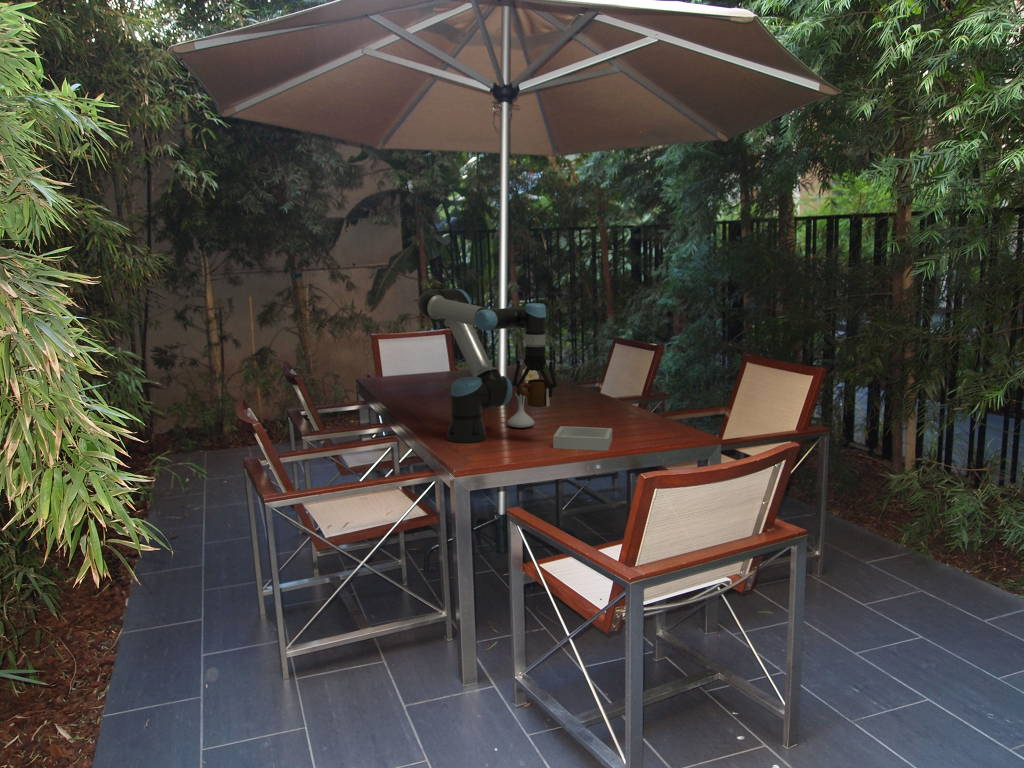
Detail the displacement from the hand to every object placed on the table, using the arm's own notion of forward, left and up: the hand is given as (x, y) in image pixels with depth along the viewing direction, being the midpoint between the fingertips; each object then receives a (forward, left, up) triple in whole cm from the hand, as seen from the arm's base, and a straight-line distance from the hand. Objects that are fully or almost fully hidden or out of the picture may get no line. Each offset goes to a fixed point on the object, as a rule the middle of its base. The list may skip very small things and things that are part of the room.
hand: (534, 405), depth 300 cm
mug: (-1, 0, -1) cm, 1 cm away
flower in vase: (-10, +28, -15) cm, 33 cm away
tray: (+18, +2, -14) cm, 23 cm away
